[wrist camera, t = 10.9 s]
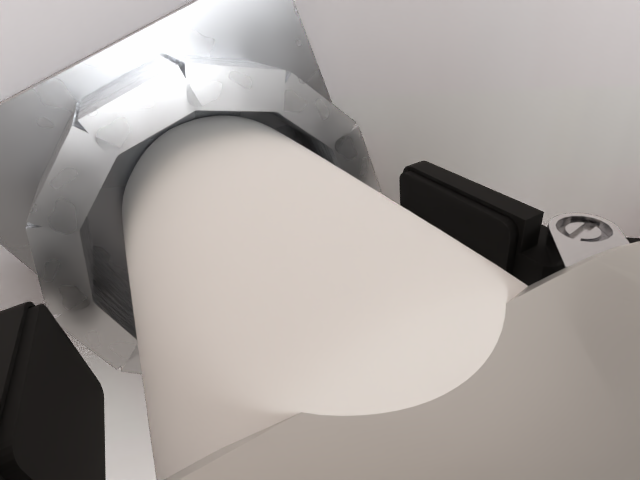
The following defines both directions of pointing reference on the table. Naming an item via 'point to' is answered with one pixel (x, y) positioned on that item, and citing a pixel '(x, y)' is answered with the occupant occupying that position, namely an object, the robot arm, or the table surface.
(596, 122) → the table surface
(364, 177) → the duct collar
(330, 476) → the robot arm
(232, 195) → the can
